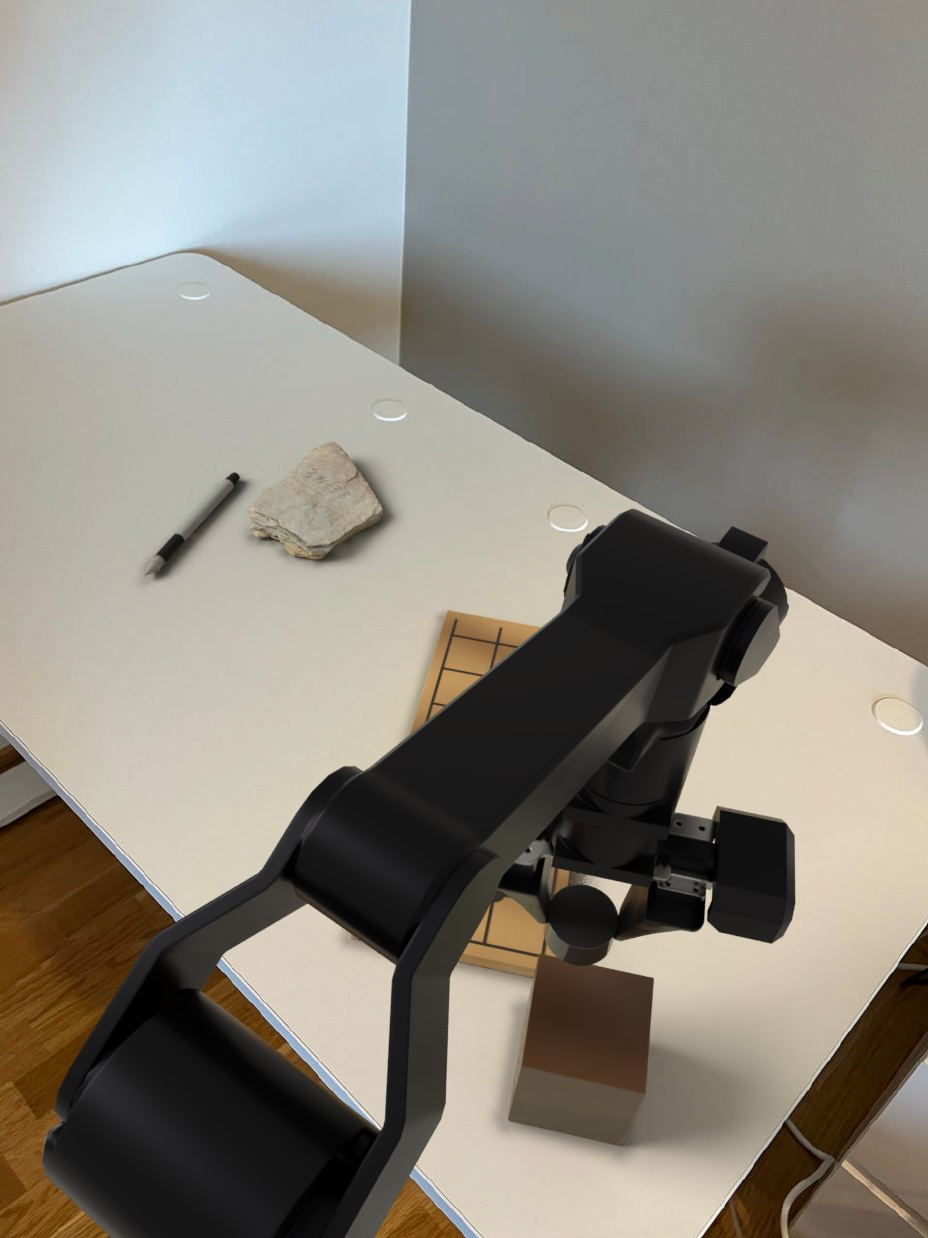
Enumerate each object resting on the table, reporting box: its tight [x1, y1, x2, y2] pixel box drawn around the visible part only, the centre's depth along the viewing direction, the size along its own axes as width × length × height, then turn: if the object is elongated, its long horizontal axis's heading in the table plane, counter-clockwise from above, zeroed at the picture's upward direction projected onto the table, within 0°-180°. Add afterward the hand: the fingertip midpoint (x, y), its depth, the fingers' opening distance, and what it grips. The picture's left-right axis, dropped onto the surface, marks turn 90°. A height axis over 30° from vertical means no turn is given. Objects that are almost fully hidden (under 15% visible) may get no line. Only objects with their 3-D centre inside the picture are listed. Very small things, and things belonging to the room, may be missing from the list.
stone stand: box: [507, 954, 655, 1147], centre depth 64 cm, size 7×7×8 cm
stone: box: [246, 441, 384, 560], centre depth 104 cm, size 15×11×3 cm
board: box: [350, 609, 571, 978], centre depth 83 cm, size 32×14×1 cm, turn 169°
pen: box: [144, 471, 241, 576], centre depth 102 cm, size 1×16×1 cm, turn 159°
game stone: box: [543, 883, 619, 966], centre depth 60 cm, size 4×4×2 cm
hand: (580, 924), depth 60 cm, fingers closed on game stone, 4 cm apart
